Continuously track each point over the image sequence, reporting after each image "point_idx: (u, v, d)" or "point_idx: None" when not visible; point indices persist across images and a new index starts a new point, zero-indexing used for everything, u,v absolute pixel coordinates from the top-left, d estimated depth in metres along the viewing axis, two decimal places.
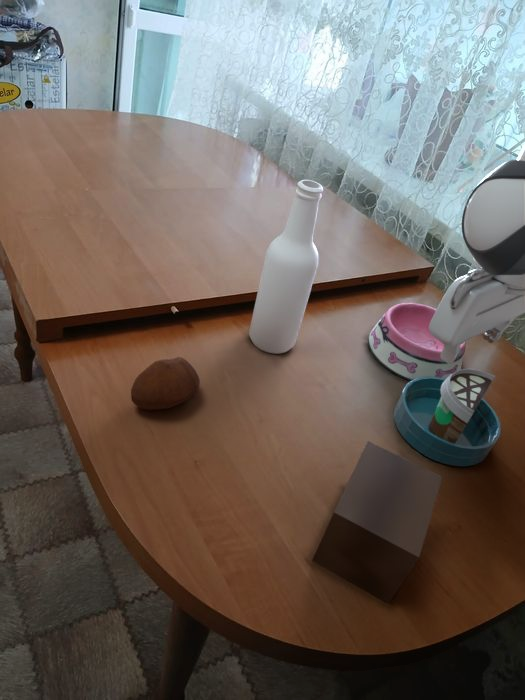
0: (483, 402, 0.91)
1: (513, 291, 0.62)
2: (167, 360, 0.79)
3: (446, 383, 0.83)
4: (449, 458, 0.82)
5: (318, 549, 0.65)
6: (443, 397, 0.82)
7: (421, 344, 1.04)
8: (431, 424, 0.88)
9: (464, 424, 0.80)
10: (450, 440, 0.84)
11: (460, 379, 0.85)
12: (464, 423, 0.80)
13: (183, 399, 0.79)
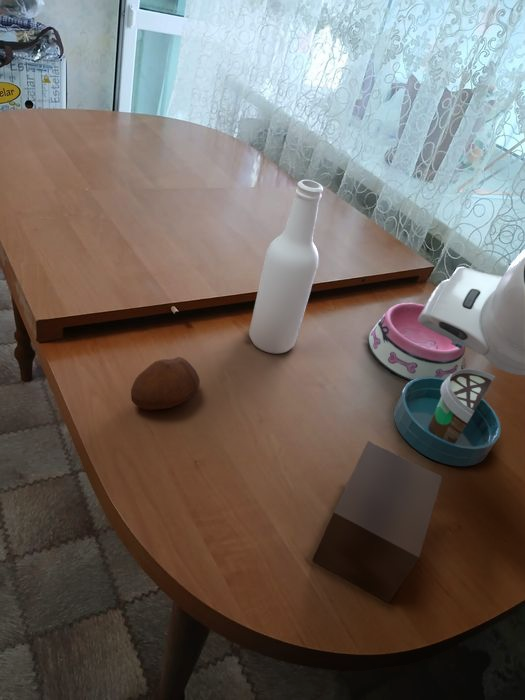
0: (483, 402, 0.91)
1: None
2: (167, 360, 0.79)
3: (446, 383, 0.83)
4: (449, 458, 0.82)
5: (318, 549, 0.65)
6: (443, 397, 0.82)
7: (421, 344, 1.04)
8: (431, 424, 0.88)
9: (464, 424, 0.80)
10: (450, 440, 0.84)
11: (460, 379, 0.85)
12: (464, 423, 0.80)
13: (183, 399, 0.79)
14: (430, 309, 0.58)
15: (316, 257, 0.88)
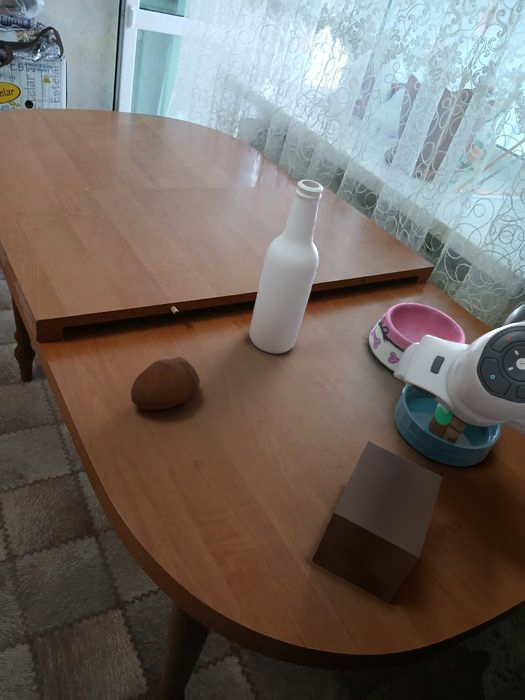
0: None
1: None
2: (167, 360, 0.79)
3: None
4: (449, 458, 0.82)
5: (318, 549, 0.65)
6: None
7: None
8: (431, 424, 0.88)
9: (464, 424, 0.80)
10: (450, 440, 0.84)
11: None
12: (464, 423, 0.80)
13: (183, 399, 0.79)
14: (403, 370, 0.68)
15: (316, 257, 0.88)
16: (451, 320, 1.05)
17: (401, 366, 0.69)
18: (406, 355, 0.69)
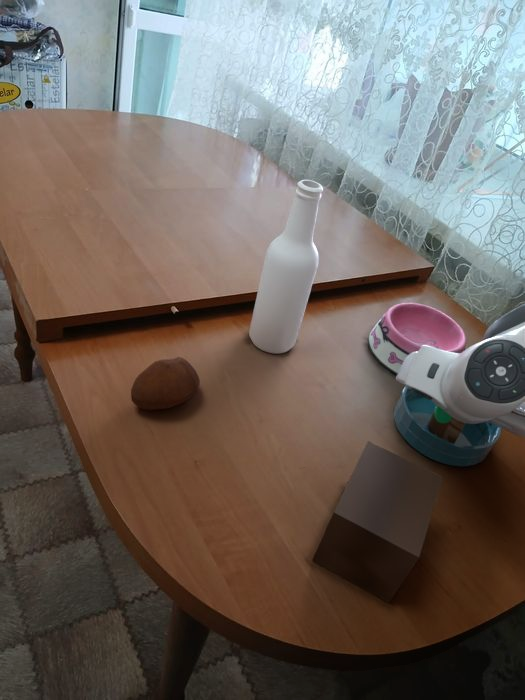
0: None
1: None
2: (167, 360, 0.79)
3: None
4: (449, 458, 0.82)
5: (318, 549, 0.65)
6: None
7: (421, 344, 1.04)
8: (430, 423, 0.88)
9: None
10: (450, 438, 0.84)
11: None
12: None
13: (183, 399, 0.79)
14: (404, 375, 0.78)
15: (316, 257, 0.88)
16: (451, 320, 1.05)
17: (402, 372, 0.79)
18: (406, 362, 0.79)
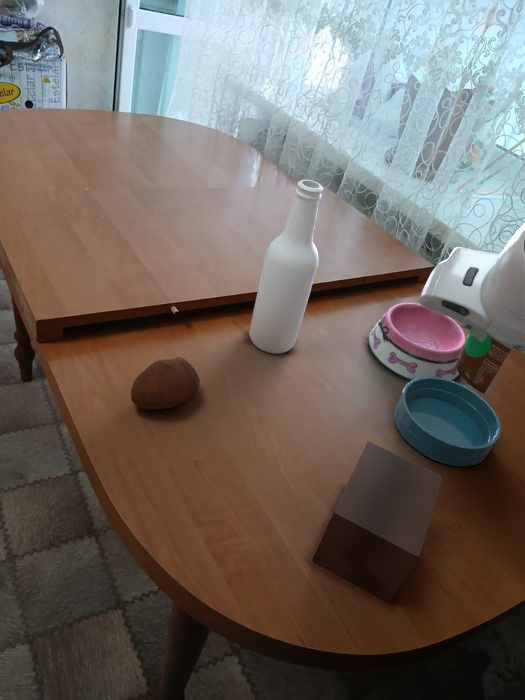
0: (483, 402, 0.91)
1: None
2: (167, 360, 0.79)
3: None
4: (449, 458, 0.82)
5: (318, 549, 0.65)
6: None
7: (421, 344, 1.04)
8: (459, 361, 0.71)
9: (506, 352, 0.64)
10: (486, 376, 0.67)
11: None
12: (506, 351, 0.64)
13: (183, 399, 0.79)
14: (430, 289, 0.61)
15: (316, 257, 0.88)
16: (451, 320, 1.05)
17: (428, 286, 0.62)
18: (433, 274, 0.63)
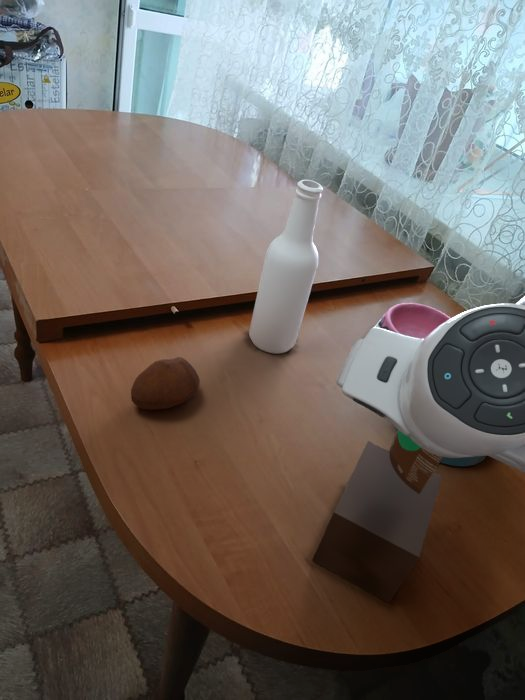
0: None
1: None
2: (167, 360, 0.79)
3: None
4: (449, 458, 0.82)
5: (318, 549, 0.65)
6: None
7: None
8: (392, 449, 0.58)
9: None
10: (421, 475, 0.54)
11: None
12: None
13: (183, 399, 0.79)
14: (344, 377, 0.48)
15: (316, 257, 0.88)
16: None
17: (342, 371, 0.49)
18: (349, 356, 0.50)
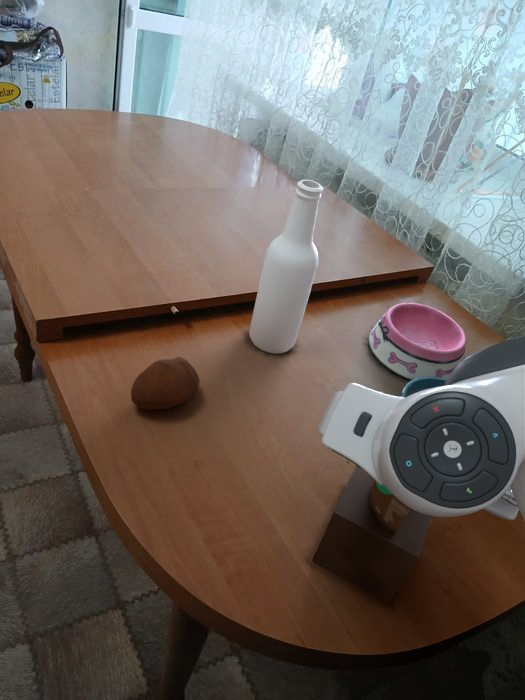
0: None
1: None
2: (167, 360, 0.79)
3: None
4: None
5: (318, 549, 0.65)
6: None
7: (421, 344, 1.04)
8: (371, 489, 0.62)
9: None
10: (396, 516, 0.58)
11: None
12: None
13: (183, 399, 0.79)
14: (324, 427, 0.52)
15: (316, 257, 0.88)
16: (451, 320, 1.05)
17: (323, 420, 0.53)
18: (330, 406, 0.53)
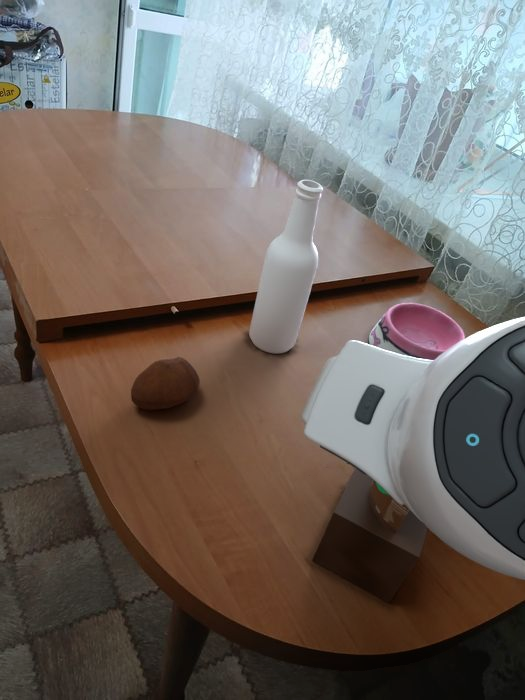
0: None
1: None
2: (167, 360, 0.79)
3: None
4: None
5: (318, 549, 0.65)
6: None
7: (421, 344, 1.04)
8: (371, 489, 0.62)
9: None
10: (396, 516, 0.58)
11: None
12: None
13: (183, 399, 0.79)
14: (309, 411, 0.34)
15: (316, 257, 0.88)
16: (451, 320, 1.05)
17: (308, 402, 0.35)
18: (318, 380, 0.35)
